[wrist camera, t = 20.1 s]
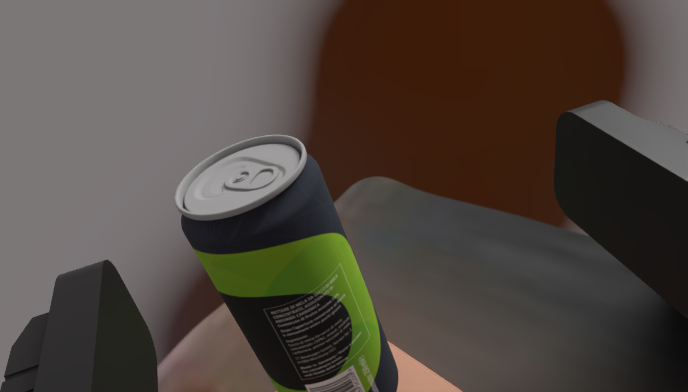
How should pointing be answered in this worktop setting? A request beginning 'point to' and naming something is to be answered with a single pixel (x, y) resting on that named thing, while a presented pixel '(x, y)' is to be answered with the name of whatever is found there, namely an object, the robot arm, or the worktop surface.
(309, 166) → the beverage can
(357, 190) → the worktop surface
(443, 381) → the trivet
